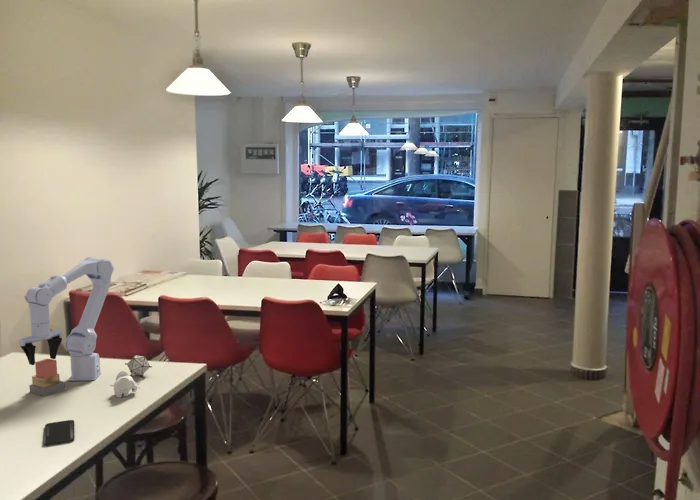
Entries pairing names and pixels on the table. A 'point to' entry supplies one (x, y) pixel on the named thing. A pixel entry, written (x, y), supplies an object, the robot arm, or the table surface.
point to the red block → (46, 368)
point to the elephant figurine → (124, 384)
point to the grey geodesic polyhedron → (138, 365)
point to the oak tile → (45, 381)
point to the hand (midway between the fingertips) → (42, 361)
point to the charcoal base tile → (47, 389)
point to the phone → (59, 432)
